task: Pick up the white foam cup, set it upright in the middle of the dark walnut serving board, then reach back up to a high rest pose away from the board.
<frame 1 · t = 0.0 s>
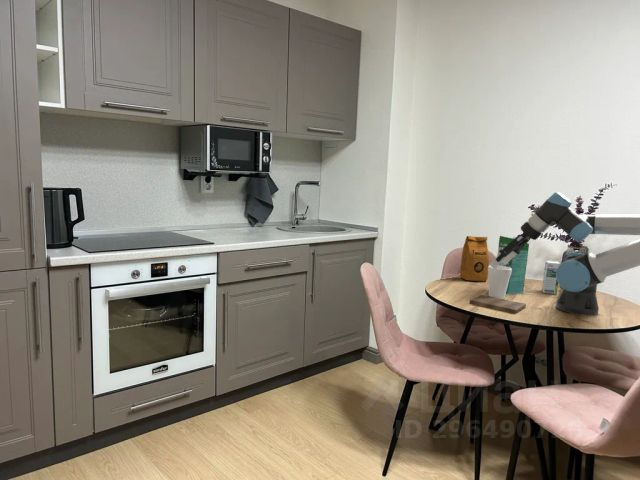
hand: (497, 264, 200), 15 cm above the table, tool tilted 35°, fingers open, 13 cm apart
milk carton: (508, 291, 221), on the table
walnut board: (497, 305, 194), on the table
foam cup: (496, 297, 208), on the table
coffee package: (473, 280, 241), on the table
syrup box: (549, 292, 224), on the table
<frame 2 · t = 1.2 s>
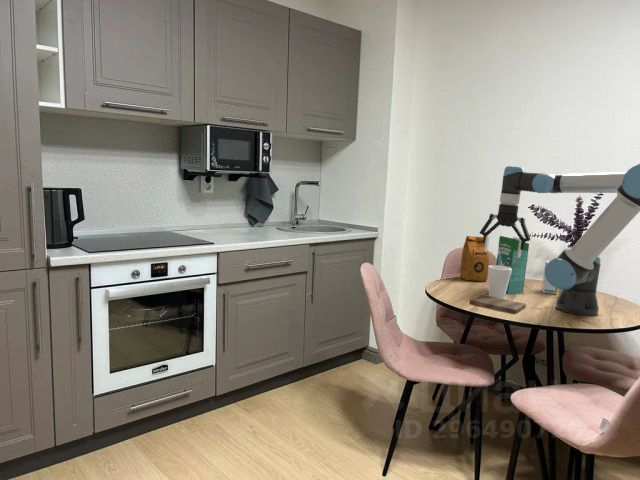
hand: (501, 254, 205), 19 cm above the table, tool pointing down, fingers open, 13 cm apart
nothing on the table moved.
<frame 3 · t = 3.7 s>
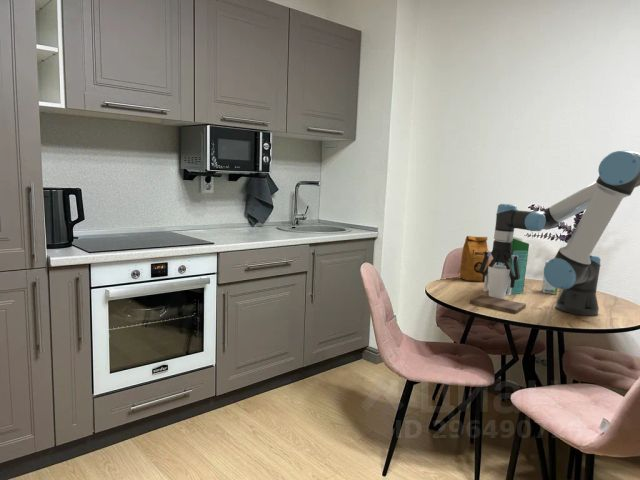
hand: (497, 292, 208), 2 cm above the table, tool pointing down, fingers closed on foam cup, 9 cm apart
foam cup: (496, 297, 208), on the table, touching gripper
everything else where it was.
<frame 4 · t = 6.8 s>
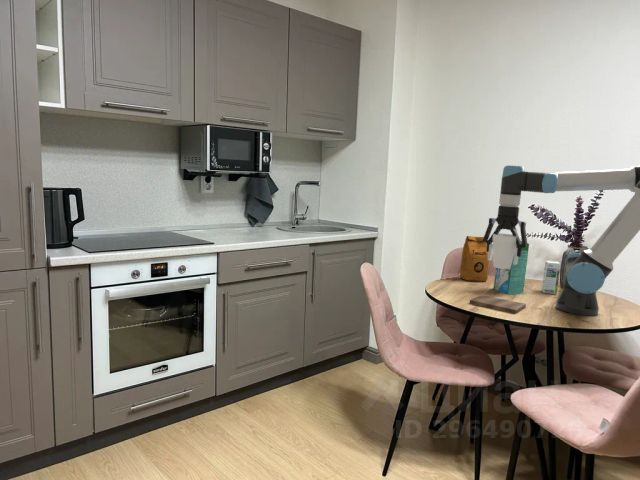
hand: (502, 262, 192), 18 cm above the table, tool pointing down, fingers closed on foam cup, 9 cm apart
foam cup: (501, 267, 193), point 15 cm above the table, touching gripper
everything else where it was.
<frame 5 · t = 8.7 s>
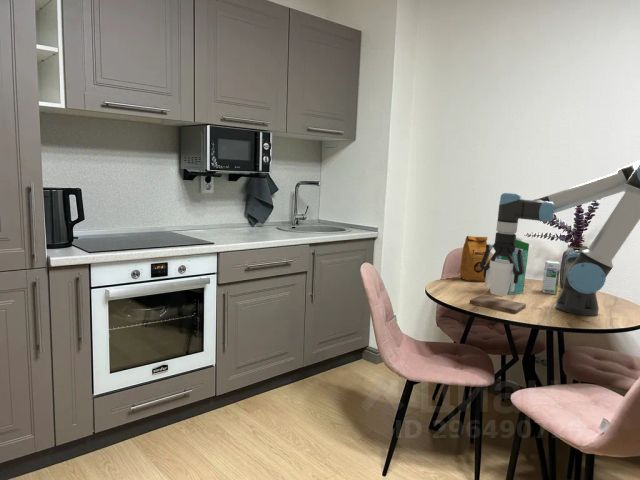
hand: (499, 288, 193), 7 cm above the table, tool pointing down, fingers closed on foam cup, 9 cm apart
foam cup: (498, 294, 194), point 5 cm above the table, touching gripper
everything else where it was.
when the fingers open (5 cm above the table, at t = 10.1 s): foam cup drops 1 cm, resting on walnut board.
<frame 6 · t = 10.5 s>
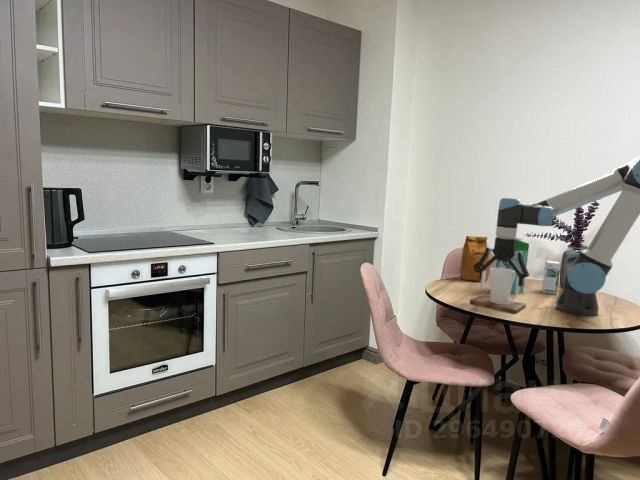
hand: (499, 290, 193), 6 cm above the table, tool pointing down, fingers open, 13 cm apart
foam cup: (498, 302, 194), point 1 cm above the table, touching walnut board
everything else where it was.
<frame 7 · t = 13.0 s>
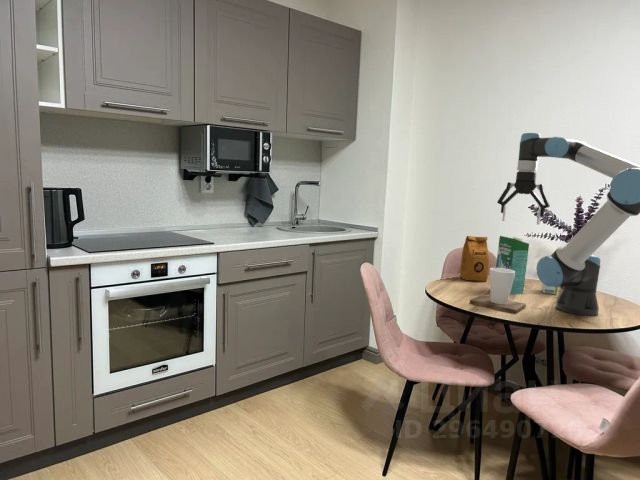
hand: (520, 222, 203), 33 cm above the table, tool pointing down, fingers open, 13 cm apart
nothing on the table moved.
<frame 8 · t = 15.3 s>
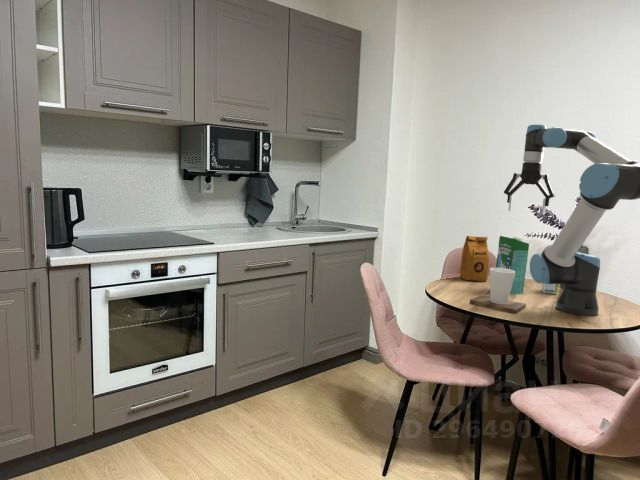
hand: (526, 212, 209), 37 cm above the table, tool pointing down, fingers open, 13 cm apart
nothing on the table moved.
at the end: foam cup inside the target area on the walnut board (0.3 cm from its centre), point 1.3 cm above the walnut board's base; foam cup tilted 0°; the gripper is holding nothing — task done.
